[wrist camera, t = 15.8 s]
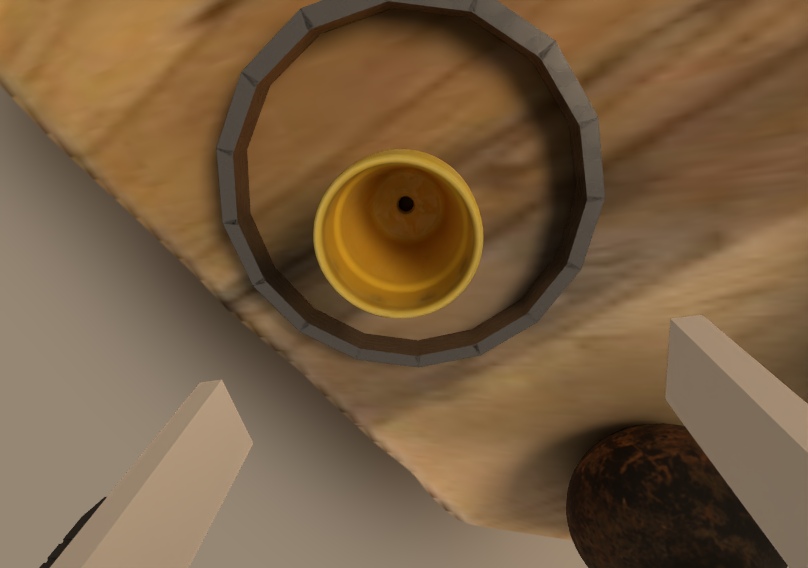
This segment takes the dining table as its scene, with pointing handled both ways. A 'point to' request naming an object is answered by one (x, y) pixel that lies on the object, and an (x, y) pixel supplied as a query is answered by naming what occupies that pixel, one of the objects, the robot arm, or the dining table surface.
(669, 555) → the glass bottle
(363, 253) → the plant pot
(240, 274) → the dining table surface
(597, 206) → the centring collar
